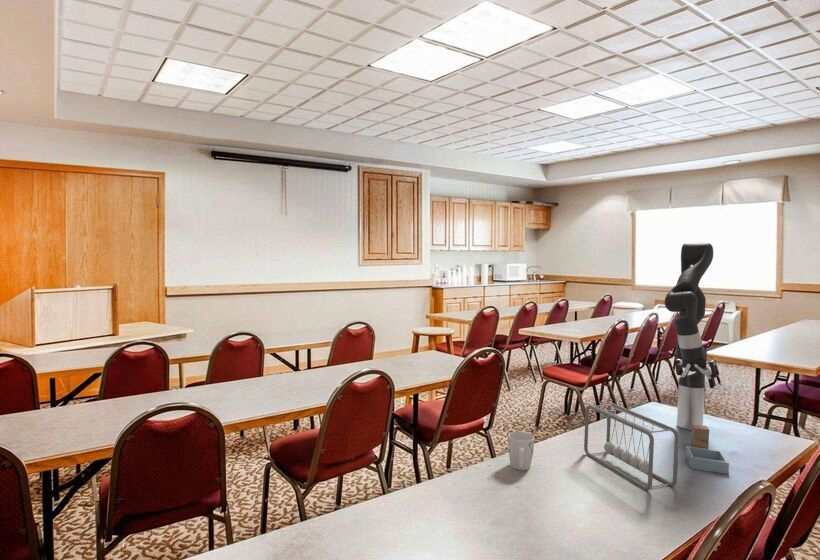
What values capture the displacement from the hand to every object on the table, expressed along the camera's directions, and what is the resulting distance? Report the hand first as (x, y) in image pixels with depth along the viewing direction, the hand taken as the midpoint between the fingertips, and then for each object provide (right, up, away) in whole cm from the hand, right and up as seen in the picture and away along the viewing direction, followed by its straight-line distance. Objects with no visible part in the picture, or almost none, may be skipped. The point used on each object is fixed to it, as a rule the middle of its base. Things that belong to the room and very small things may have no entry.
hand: (700, 386), depth 182 cm
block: (-4, -22, -7) cm, 23 cm away
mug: (-72, -21, -23) cm, 79 cm away
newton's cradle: (-37, -22, -23) cm, 49 cm away
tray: (-9, -22, -18) cm, 30 cm away
